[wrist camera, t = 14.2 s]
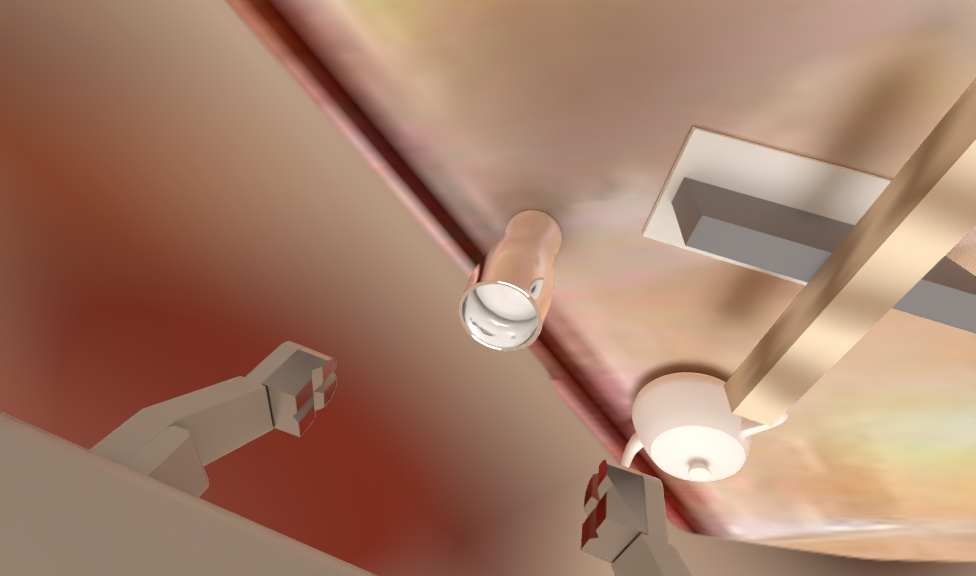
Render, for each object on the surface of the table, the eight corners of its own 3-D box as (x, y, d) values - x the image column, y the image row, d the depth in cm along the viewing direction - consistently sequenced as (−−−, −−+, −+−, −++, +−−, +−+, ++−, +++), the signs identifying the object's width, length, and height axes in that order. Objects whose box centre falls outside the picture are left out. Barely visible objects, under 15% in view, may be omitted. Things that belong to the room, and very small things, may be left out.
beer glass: (541, 192, 39) (507, 261, 27) (579, 247, 41) (563, 335, 29) (488, 227, 43) (437, 302, 31) (525, 276, 45) (491, 365, 33)
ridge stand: (692, 126, 33) (717, 155, 25) (978, 203, 30) (1110, 263, 22) (642, 231, 39) (648, 283, 30) (879, 303, 36) (955, 381, 28)
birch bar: (982, 69, 20) (1034, 73, 17) (1049, 85, 19) (1111, 91, 17) (723, 385, 33) (731, 413, 31) (759, 397, 33) (771, 426, 31)
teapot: (640, 454, 55) (643, 528, 47) (583, 397, 52) (576, 465, 44) (799, 405, 44) (840, 490, 36) (737, 330, 41) (767, 403, 33)
